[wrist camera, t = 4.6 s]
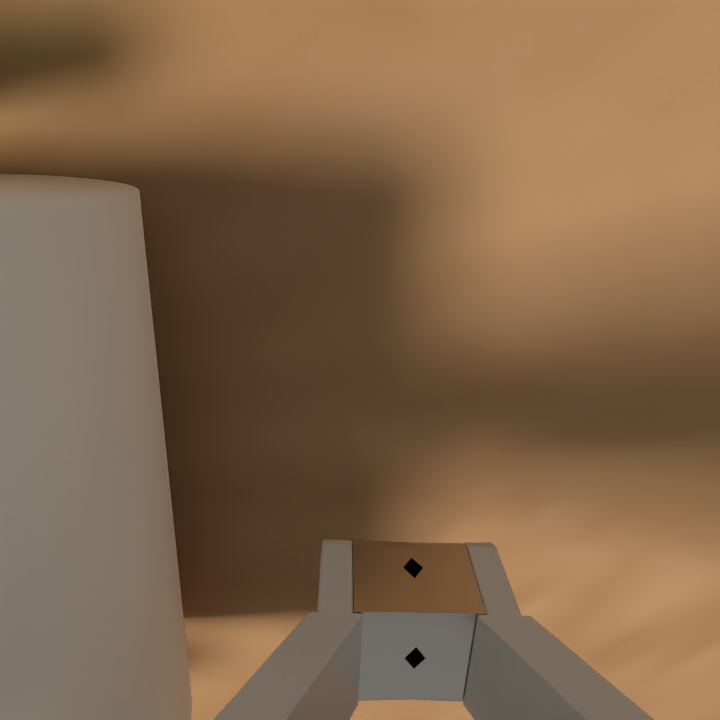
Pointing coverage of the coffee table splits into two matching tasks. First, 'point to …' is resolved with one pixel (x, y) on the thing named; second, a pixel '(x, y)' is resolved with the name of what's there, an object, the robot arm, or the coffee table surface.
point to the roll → (83, 464)
